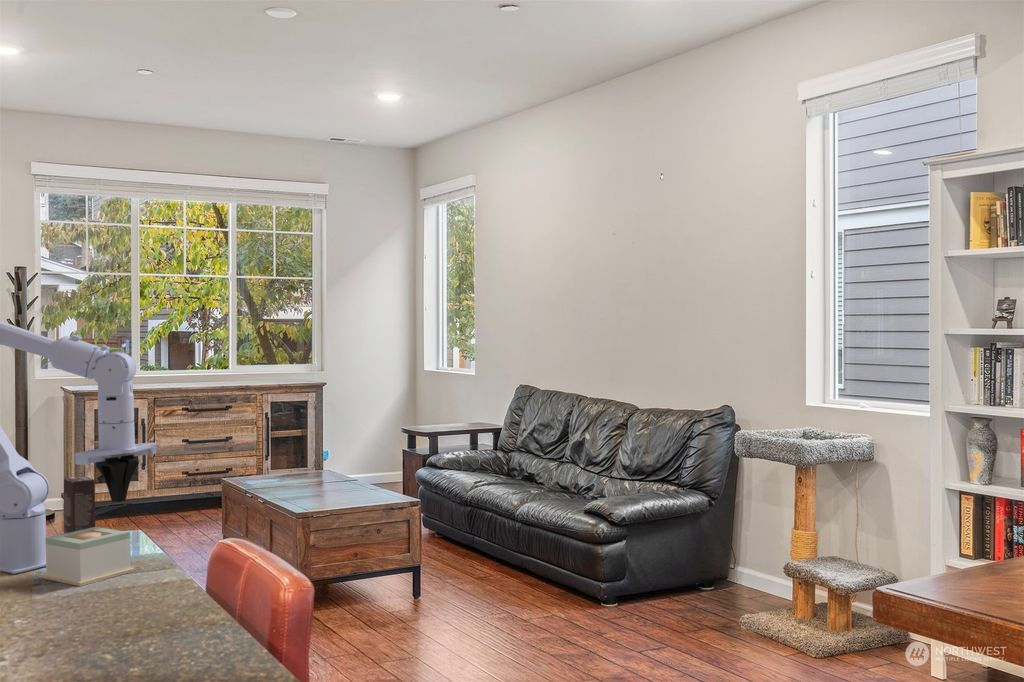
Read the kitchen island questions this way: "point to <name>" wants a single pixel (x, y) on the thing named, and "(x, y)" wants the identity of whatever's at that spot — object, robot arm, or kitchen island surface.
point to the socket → (87, 556)
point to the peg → (87, 535)
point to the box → (79, 504)
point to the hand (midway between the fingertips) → (118, 501)
